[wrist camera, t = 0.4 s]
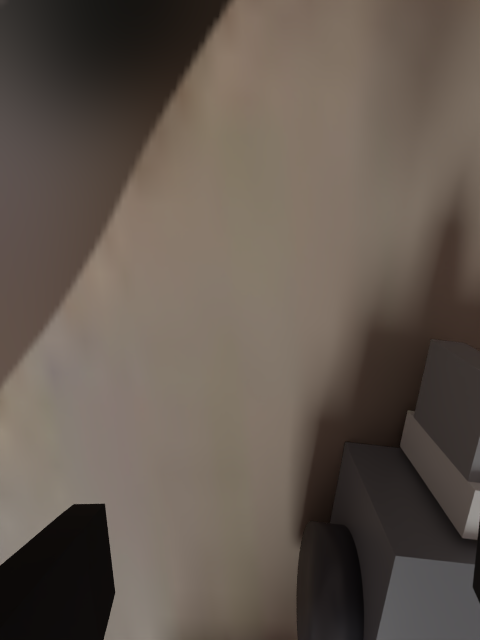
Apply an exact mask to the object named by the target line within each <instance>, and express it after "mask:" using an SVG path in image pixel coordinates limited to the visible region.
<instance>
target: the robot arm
mask: <svg viewBox="0 0 480 640" xmlns="http://www.w3.org/2000/svg"><path fill="white" fill-rule="evenodd" d="M473 589H474V592H475V594H476V596H477V598H478V601H479V603H480V521H479V530H478V540H477V549H476V558H475V568H474V577H473ZM114 595H115V587H114V578H113V570H112V561H111V553H110V544H109V536H108V527H107V519H106V510H105V504H74V505H72V506H71V507H70V508H68V509H67V510H66V511H65V512H63V513H62V514H61V515H60V516H58V517H57V518H56V519H55V520H54V521H52V522H51V523H50V524H49V525H48V526H47V527H45V528H44V529H43V530H42V531H41V532H39V533H38V534H37V535H36V536H35V537H34V538H32V539H31V540H30V541H29V542H28V543H27V544H25V545H24V546H23V547H22V548H21V549H20V550H18V551H17V552H16V553H15V554H14V555H12V556H11V557H10V558H9V559H8V560H6V561H5V562H4V563H3V564H2V565H0V640H103V639H104V635H105V632H106V628H107V624H108V620H109V616H110V612H111V608H112V603H113V599H114Z"/></svg>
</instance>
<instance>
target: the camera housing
mask: <svg viewBox="0 0 480 640" xmlns="http://www.w3.org/2000/svg"><path fill="white" fill-rule="evenodd" d="M476 549H477V540H475V539H466V538H462V537H461V535H460V534H459V532H458V531H457V530H456V528H455V527H454V525H453V524H452V522H451V521H450V519H449V518H448V516H447V515H446V513H445V512H444V510H443V509H442V507H441V506H440V504H439V503H438V501H437V500H436V499H435V497H434V496H433V494H432V493H431V491H430V490H429V488H428V487H427V485H426V484H425V482H424V481H423V479H422V478H421V476H420V475H419V473H418V472H417V470H416V469H415V467H414V466H413V465H412V463H411V462H410V460H409V459H408V457H407V456H406V454H405V453H404V451H403V450H402V448H394V447H386V446H377V445H368V444H359V443H350V442H345V446H344V451H343V457H342V462H341V467H340V473H339V478H338V483H337V489H336V494H335V499H334V505H333V510H332V515H331V521H330V523H324V522H315V521H310V522H308V524H307V525H306V527H305V530H304V533H303V537H302V541H301V547H300V553H299V562H298V574H297V633H298V640H480V603H479V601H478V598H477V596H476V594H475V592H474V589H473V577H474V568H475V558H476Z"/></svg>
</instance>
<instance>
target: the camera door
mask: <svg viewBox="0 0 480 640" xmlns="http://www.w3.org/2000/svg"><path fill="white" fill-rule="evenodd" d="M400 447H401V448H402V450H403V451H404V453H405V454H406V456H407V457H408V459H409V460H410V462H411V463H412V465H413V466H414V467H415V469H416V470H417V472H418V473H419V475H420V476H421V478H422V479H423V481H424V482H425V484H426V485H427V487H428V488H429V490H430V491H431V493H432V494H433V496H434V497H435V499H436V500H437V501H438V503H439V504H440V506H441V507H442V509H443V510H444V512H445V513H446V515H447V516H448V518H449V519H450V521H451V522H452V524H453V525H454V527H455V528H456V530H457V531H458V532H459V534H460V535H461V537H462V538H466V539H475V540H478V530H479V521H480V351H478V350H477V349H475V348H473V347H471V346H469V345H468V344H466V343H461V342H453V341H444V340H435V339H431V342H430V346H429V351H428V355H427V360H426V364H425V369H424V373H423V378H422V382H421V386H420V391H419V395H418V400H417V404H416V409H415V411H409V410H408V411H407V416H406V420H405V425H404V429H403V434H402V439H401V443H400Z"/></svg>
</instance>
